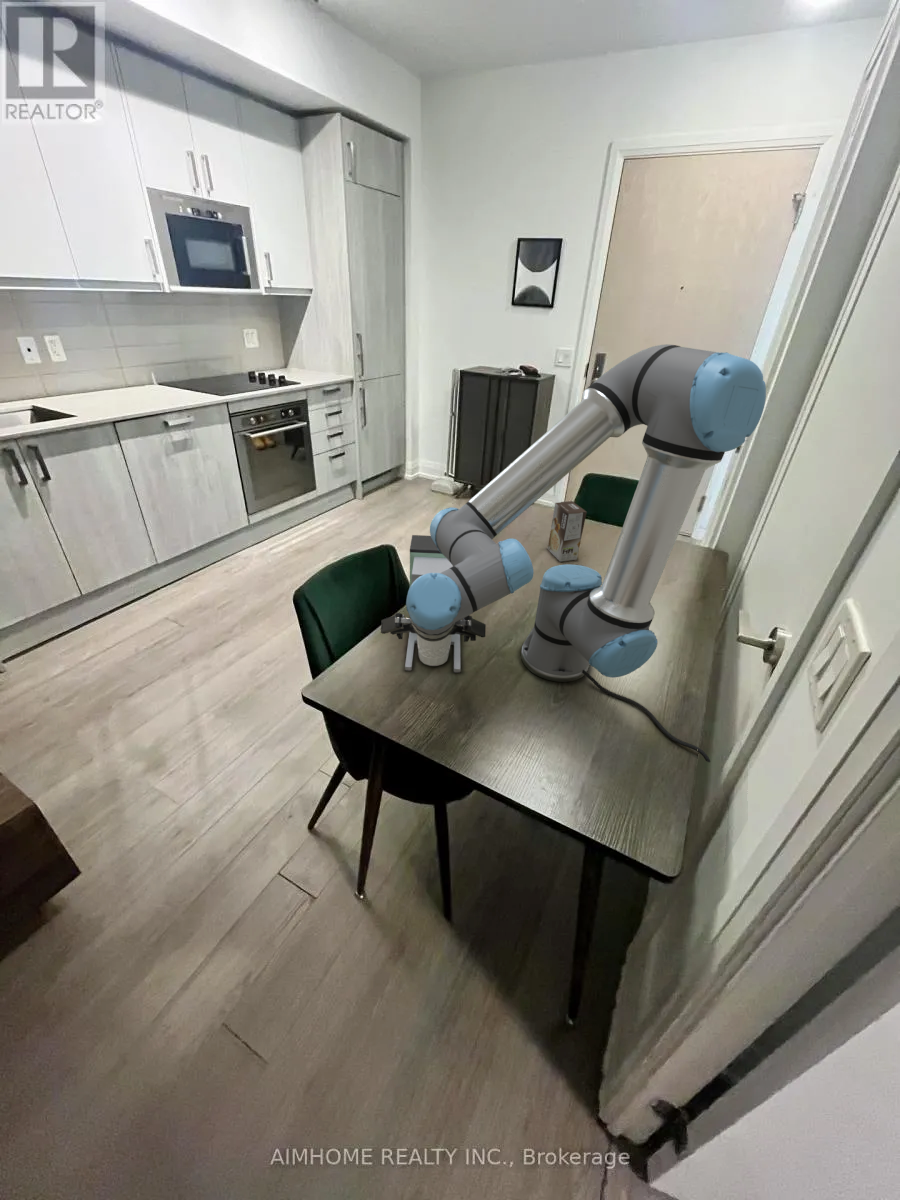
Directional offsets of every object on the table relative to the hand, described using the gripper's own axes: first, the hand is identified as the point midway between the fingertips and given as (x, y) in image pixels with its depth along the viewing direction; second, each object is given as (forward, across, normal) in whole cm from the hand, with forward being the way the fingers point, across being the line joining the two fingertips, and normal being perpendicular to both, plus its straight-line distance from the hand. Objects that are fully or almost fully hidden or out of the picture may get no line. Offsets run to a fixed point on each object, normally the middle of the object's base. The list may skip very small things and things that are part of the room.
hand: (433, 634), depth 102 cm
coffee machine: (+12, 0, 0) cm, 12 cm away
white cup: (+9, 0, +4) cm, 10 cm away
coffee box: (+46, -39, -33) cm, 69 cm away
